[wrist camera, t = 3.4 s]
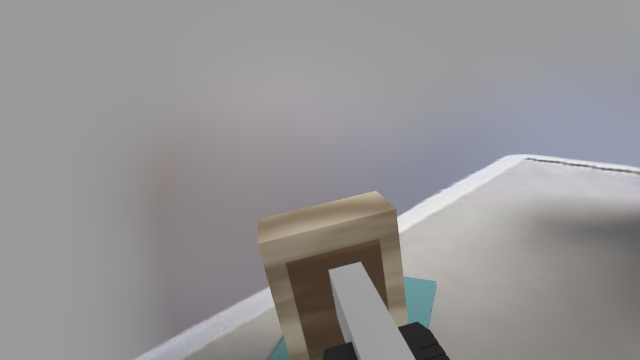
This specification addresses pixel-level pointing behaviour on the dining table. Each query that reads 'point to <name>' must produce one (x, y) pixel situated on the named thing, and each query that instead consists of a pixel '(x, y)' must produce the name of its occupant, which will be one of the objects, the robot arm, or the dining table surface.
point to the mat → (416, 301)
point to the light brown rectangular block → (329, 266)
